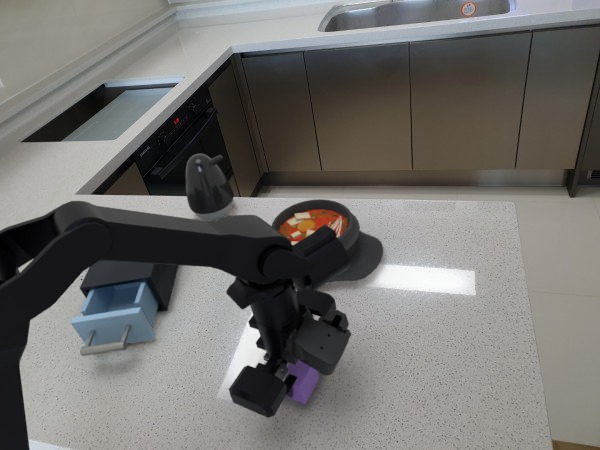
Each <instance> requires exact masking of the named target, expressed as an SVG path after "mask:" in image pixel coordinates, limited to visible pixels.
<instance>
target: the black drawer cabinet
mask: <svg viewBox="0 0 600 450" xmlns="http://www.w3.org/2000/svg"><path fill="white" fill-rule="evenodd" d="M178 269H179V265H167V264H150V263H133V262H117V261H98V262H97V263H95V264H94V265H92V266H90V267H89V268H87V271H86V273H85V275H84V277H83V280H82V282H81V283H80V286H79V290H80V291H81V293H82V294H83V296H84V297H85V299H86V298H87V296H88V294H89V292H90V290H92V289H98V288H105V287H111V286H117V285H123V284H130V283H136V282H142V281H148V283H149V285H150V287H151V289H152V291H153V292H154V294H155V296H156V298H157V300H158V302H159V305H158V309H157V313H161V312H167V311H168V310H169V305H170V301H171V297H172V294H173V289H174V285H175V280H176V278H177V277H176V276H177V272H178Z"/></svg>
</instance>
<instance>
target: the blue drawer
mask: <svg viewBox="0 0 600 450" xmlns="http://www.w3.org/2000/svg"><path fill="white" fill-rule="evenodd" d="M158 305H159V302H158V300H157V298H156V296H155V294H154V292H153V291H152V289H151V287H150V285H149V283H148V281H142V282H136V283H130V284H123V285H117V286H111V287H105V288H98V289H92V290H90V292H89V294H88V296H87V298H86V297H85V300H84V303H83V305H82V308H81V310H80V313H81V316H73V317H72V319H71V321H70V324H71V326H72V327H73V328H74V330H75V331H76V333H77V334H78V335H79V337H80V338H81V340H82V341H83V343H84V346H81V347H80V349H79V354H80V356H82V357H85V356H91V355H97V354H105V353H112V352H118V351H123V350H124V351H125V350H127V349H128V344H133V343H139V342H146V341H153V340H155V337H156V332H155V330H154V329H153V327H154V323H155V320H156V317H157V313H158V312H157V309H158Z"/></svg>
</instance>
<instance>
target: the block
mask: <svg viewBox="0 0 600 450" xmlns="http://www.w3.org/2000/svg"><path fill="white" fill-rule="evenodd" d="M287 368H288V370H289V374H291V375H294V376H297V377H298V378H297V380H296V381H295V383H294V385H293V386H292V388H293V397H292V398H290V397H287V396H285V398H287V399H290V400H293V401H296V402H297V403H299V404H303V405H306V404H307V402H308V401H309V398H310V397H311V395H312V393H313V391H314V390H315V388H316V386H317V384H318V382H319V380H320V374H319V371H317V370H315V369H313V368H312V367H310V366H308V365H306V364H305V363H303V362H302V361H301V360H300V359H299V360H298V361H297V363H296V365H294V364H292V363H289V364H288V366H287Z"/></svg>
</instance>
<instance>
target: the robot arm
mask: <svg viewBox="0 0 600 450" xmlns="http://www.w3.org/2000/svg"><path fill="white" fill-rule="evenodd" d="M98 261H117V262H133V263H150V264H167V265H178V266H185V267H204V268H212V269H215V270H220V271H222V272H224V273H227V274H228V275H231V276H232V277H235V278H234V280H233V282H232V283H231V284H229V286H228V288H227V289H226V292H225V293H226V295H227V296H228V297H229V298H230V299H231V300H232V302H234V303H235V305H237V306H238V307H239V309H241V310H245V309H246V308H249V307H250V309H251V312H252V316H251V317H250V318H249V320H248V322H247V323H248V325H249V328H252V329H255V330H257V331H258V333H259V337H258V339H257V340H256V341H255V345H256V347H257V348H258V349H261V350H262V351H265V354H264V355H263V357H262V359H263V361H265V363H262V362H257V364H256V366H255V367H253V366H251V365H249V364H247V365H245V366H243V367H242V369H241V370H240V372H239V373H238V375H237V376H236V378H235V379H234V381H233V382H232V384H231V385H230V387H229V388H228V393H229V396H230V398H231V401H232V403H233V404H234V405H235V404H236V405H237V406H240V407H242V408H244V409H246V410H249V411H251V412H253V413H256V414H258V415H260V416H262V417H264V418H267V419H269V418H271V417H274V416H275V415H276V413H277V412H278V410H279V408H280V407H281V405H282V403H283V401H284V400H285V398H287V397H290V398H292V397H293V388H292V386H293V385H294V383H295V381H296V380H297V378H298V377H297V376H294V375H291V374H289V370H288V368H287V366H288V364H289V363H292V364H294V365H296V363H297V361H298V360H299V359H300V360H301V361H302V362H303V363H305V364H306V365H308V366H310V367H312V368H313V369H315V370H317V371H318V373H319V374H321V375H323V376H325V377H329V376H332V375H333V374H334V373H335V370H336V368H337V366H338V364H339V362H340V361H341V359H342V357H343V356H344V352H345V350H346V348H347V346H348V344H349V340H350V338H351V336H352V332H351V330H350V329H349V325H350V323H349V319H348V317H347V314H346V313H344V312H342V311H340V310H338V309H337V304H336V300H335V298H334V296H332V294H330V293H327V292H324V291H320V290H319V289H320V288H322V287H324V286H325V285H326V284H329V283H328V282H329V281H331V280H332V279H334V278H335V277H337V276H338V275H339V274H341V273H342V272H344V271H345V270H347V269H348V268H349V267H350V265H351V259H350V256H349V255H348V254H347V252H346V250H345V248H344V246H343V245H342V243H341V242H340V241H339V239H338V238H337V236H336V231H335V230H333V229H332V228H330V227H329V226H327V225H323V226H321V227H320V228H318V229H317V230H316V231H315V232H314V233H312V234H311V235H309V236H307V237H306V238H304V239H302V240H301V241H299V242H298V243H296V244H294V245H292V244H291V241H290V240H289V239H288V238H287V237H285V236H284V235H283V234H281V233H280V232H279V231H277V230H276V229H275V228H273V227H272V224H269V223H268V222H266V221H265V220H264V219H262V218H261V217H260V216H258V215H256V214H233V215H232V214H231V215H230V214H229V215H225V216H224V217H222V218H220V219H217V220H204V219H195V218H187V217H181V216H172V215H165V214H158V213H151V212H145V211H144V212H143V211H137V210H130V209H123V208H115V207H110V206H109V207H108V206H101V205H96V204H93V203H91V202H89V201H84V200H71V201H68V202H65V203H62V204H61V205H59V206H57V207H55V208H54V209H52V210H51V211H49V212H47V213H46V214H44V215H41V216H38V217H35V218H32V219H28V220H25V221H22V222H19V223H15V224H13V225H12V224H11V225H9V226H7V227H4V228H2V229H1V230H0V450H31V448H30V441H29V433H28V425H27V417H26V408H25V401H24V391H23V384H22V376H21V359H22V357H23V356H24V352H25V350H26V347H27V345H28V340H29V333H30V326H31V320H33V319H35V318H36V317H37V316H39V315H40V314H42V313H43V312H45V311H47V310H48V309H50V308H51V307H53V306H54V304H56V303H57V301H59V299H60V298H61V297H62V296H63V295H64V294H65V293H66V292H67V290H68V289H69V288H70V287H71V286H72V285H73V284H74V282H75V281H76V280H77V279H78V278H79V276H81V274H82V273H83V272H85V271H86V270H88V269H89V267H90V266H92V265H94V264H95V263H97V262H98ZM27 263H28V264H27ZM26 264H27V265H26ZM24 265H26V266H25V267H24V268H23V269H22V270H21V271H20V268H21V267H22V266H24ZM296 287H297V289H296ZM315 316H317V317H319V318H318V319H315ZM285 396H287V397H285ZM290 398H289V399H290Z"/></svg>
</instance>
